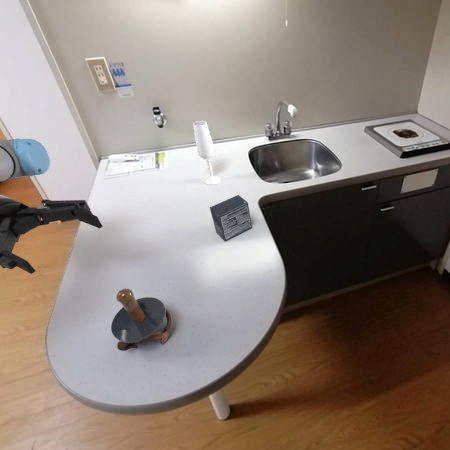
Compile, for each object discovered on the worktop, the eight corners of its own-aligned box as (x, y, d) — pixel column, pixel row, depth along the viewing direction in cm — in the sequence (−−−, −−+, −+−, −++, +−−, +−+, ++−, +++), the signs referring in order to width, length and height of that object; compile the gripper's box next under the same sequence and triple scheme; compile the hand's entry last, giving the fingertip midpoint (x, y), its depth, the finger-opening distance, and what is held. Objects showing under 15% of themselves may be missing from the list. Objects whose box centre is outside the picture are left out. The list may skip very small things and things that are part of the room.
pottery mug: (147, 312, 77) (154, 294, 73) (174, 337, 77) (184, 320, 72) (102, 346, 67) (109, 327, 63) (134, 375, 67) (142, 358, 62)
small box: (242, 218, 105) (238, 193, 99) (253, 228, 102) (249, 202, 95) (215, 232, 100) (208, 206, 93) (225, 242, 96) (219, 216, 90)
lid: (119, 353, 61) (97, 326, 55) (107, 315, 68) (86, 287, 62) (173, 323, 66) (159, 295, 60) (156, 291, 73) (142, 262, 67)
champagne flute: (224, 180, 125) (213, 122, 109) (210, 186, 121) (196, 128, 106) (215, 174, 128) (202, 117, 113) (201, 180, 125) (186, 123, 109)
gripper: (66, 198, 76) (127, 220, 69) (-57, 266, 59) (7, 305, 52) (50, 172, 71) (114, 193, 64) (-90, 237, 54) (-24, 275, 47)
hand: (66, 243), depth 58 cm, fingers open, 13 cm apart
